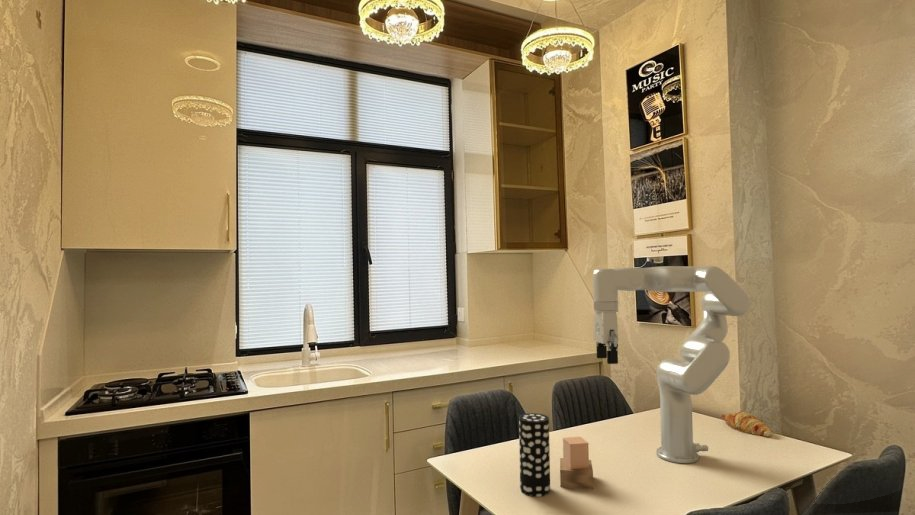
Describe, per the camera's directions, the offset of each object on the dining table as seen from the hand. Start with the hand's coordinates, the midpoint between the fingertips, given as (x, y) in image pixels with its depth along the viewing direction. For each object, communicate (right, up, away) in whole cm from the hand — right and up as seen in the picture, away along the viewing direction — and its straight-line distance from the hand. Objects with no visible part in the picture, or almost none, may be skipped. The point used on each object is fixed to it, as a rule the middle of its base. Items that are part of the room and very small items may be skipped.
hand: (607, 360), depth 154 cm
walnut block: (-13, -32, -14) cm, 38 cm away
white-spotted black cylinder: (-26, -32, -19) cm, 46 cm away
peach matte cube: (-13, -27, -14) cm, 33 cm away
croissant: (+62, -33, +29) cm, 76 cm away
